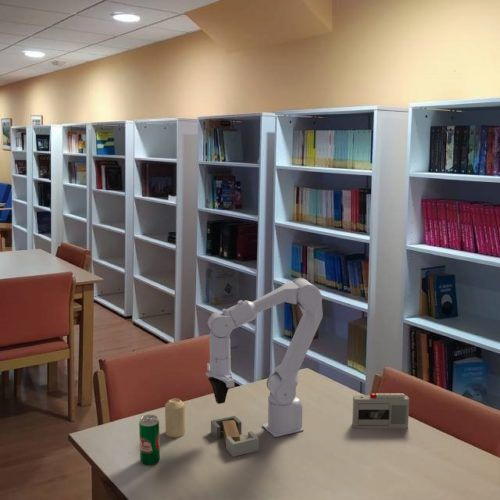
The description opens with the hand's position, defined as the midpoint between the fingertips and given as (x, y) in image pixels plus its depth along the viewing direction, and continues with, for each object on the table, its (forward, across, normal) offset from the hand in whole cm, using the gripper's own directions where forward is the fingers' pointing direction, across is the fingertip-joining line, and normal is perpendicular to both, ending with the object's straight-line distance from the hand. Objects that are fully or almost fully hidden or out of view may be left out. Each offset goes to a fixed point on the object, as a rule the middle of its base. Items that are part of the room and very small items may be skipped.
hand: (220, 402), depth 168 cm
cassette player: (+10, +15, +44) cm, 48 cm away
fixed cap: (+10, -1, +2) cm, 10 cm away
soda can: (+10, +5, -22) cm, 25 cm away
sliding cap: (+10, +10, +2) cm, 14 cm away
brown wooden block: (+10, +3, +2) cm, 11 cm away
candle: (+10, -7, -11) cm, 16 cm away
